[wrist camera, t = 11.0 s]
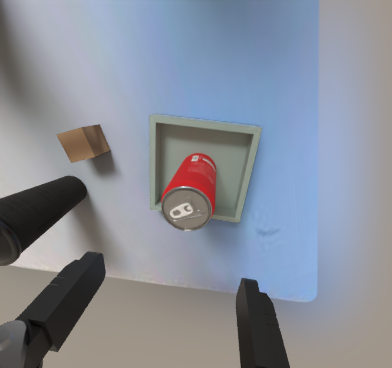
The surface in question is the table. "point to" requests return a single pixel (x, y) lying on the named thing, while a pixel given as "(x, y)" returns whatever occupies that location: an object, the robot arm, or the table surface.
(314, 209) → the table surface
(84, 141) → the walnut block
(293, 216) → the table surface
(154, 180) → the tray
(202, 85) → the table surface
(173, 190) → the beverage can
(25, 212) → the drinking cup
